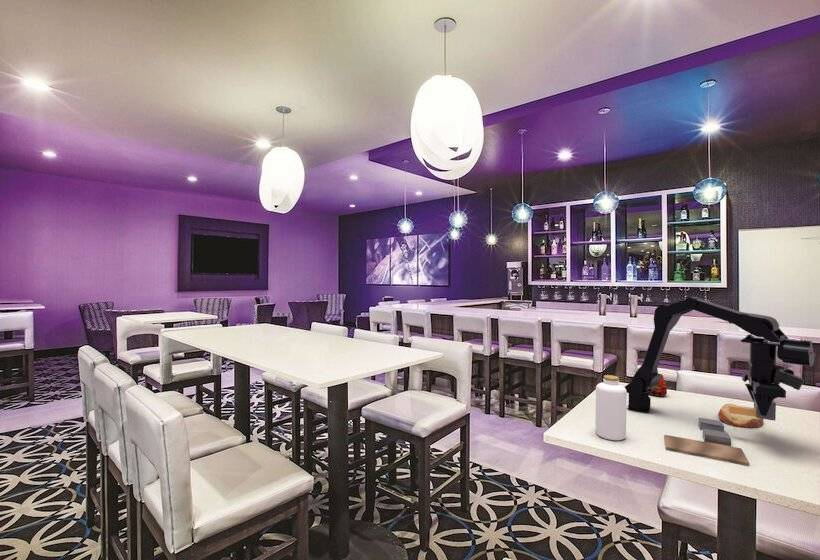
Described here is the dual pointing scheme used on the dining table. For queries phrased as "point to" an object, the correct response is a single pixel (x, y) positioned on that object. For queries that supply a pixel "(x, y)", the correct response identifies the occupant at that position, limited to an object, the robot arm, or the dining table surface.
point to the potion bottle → (611, 409)
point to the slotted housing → (714, 431)
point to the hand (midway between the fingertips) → (761, 413)
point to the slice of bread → (738, 419)
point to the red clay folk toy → (659, 389)
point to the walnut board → (706, 449)
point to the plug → (754, 411)
